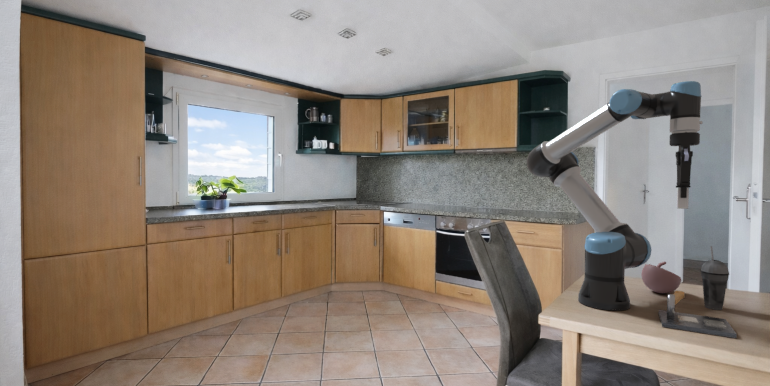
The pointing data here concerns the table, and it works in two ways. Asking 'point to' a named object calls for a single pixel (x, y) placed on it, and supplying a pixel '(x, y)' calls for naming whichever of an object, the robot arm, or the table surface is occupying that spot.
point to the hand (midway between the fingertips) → (682, 208)
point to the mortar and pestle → (660, 278)
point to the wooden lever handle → (678, 296)
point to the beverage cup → (714, 283)
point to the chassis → (694, 321)
